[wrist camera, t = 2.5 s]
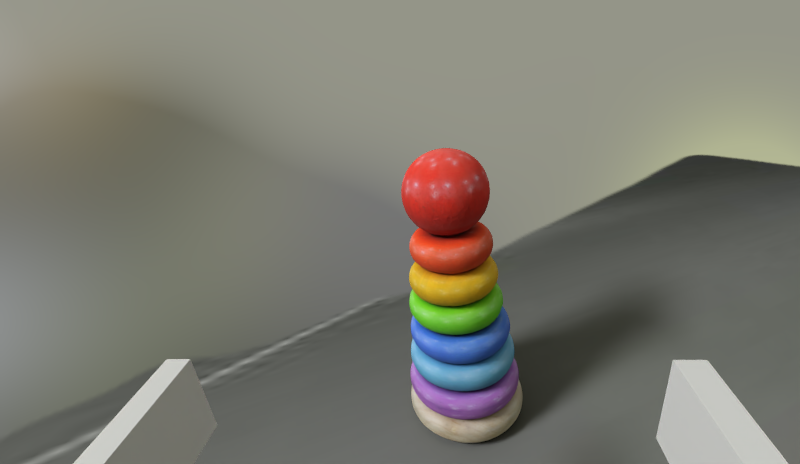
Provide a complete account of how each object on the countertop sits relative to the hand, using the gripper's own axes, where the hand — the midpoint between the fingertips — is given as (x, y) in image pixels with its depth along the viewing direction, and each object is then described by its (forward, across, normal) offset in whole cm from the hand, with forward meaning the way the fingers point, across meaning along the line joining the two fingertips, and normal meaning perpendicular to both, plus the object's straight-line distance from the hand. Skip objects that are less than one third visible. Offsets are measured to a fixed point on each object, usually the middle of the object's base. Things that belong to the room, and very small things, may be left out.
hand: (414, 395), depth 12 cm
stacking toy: (+14, +1, -16) cm, 21 cm away
